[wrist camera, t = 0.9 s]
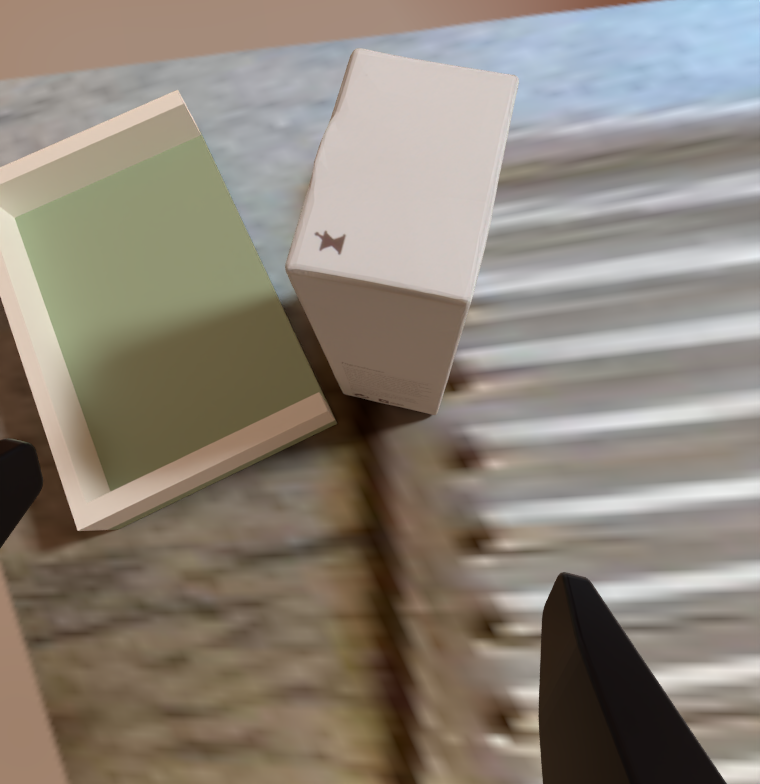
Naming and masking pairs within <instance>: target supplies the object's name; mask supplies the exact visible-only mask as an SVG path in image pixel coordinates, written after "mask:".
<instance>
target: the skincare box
mask: <svg viewBox="0 0 760 784" xmlns="http://www.w3.org/2000/svg"><path fill="white" fill-rule="evenodd" d="M518 84H519V79H518V77H517V76H515V75H509V74H502V73H496V72H490V71H484V70H478V69H472V68H466V67H459V66H453V65H447V64H441V63H435V62H430V61H424V60H418V59H412V58H406V57H401V56H396V55H390V54H385V53H380V52H376V51H371V50H366V49H362V48H357V49H355V50H354V51H353V53H352V54H351V56H350V59H349V62H348V65H347V69H346V72H345V75H344V78H343V81H342V85H341V88H340V91H339V94H338V97H337V100H336V104H335V107H334V110H333V113H332V116H331V119H330V122H329V124H328V127H327V129H326V131H325V133H324V135H323V138H322V140H321V143H320V146H319V149H318V152H317V155H316V158H315V161H314V167H313V173H312V177H311V181H310V184H309V188H308V191H307V194H306V198H305V201H304V204H303V208H302V211H301V214H300V218H299V221H298V225H297V228H296V231H295V235H294V238H293V241H292V244H291V248H290V251H289V254H288V258H287V261H286V265H285V269H286V272H287V275H288V277H289V279H290V281H291V284H292V286H293V288H294V290H295V292H296V294H297V296H298V299H299V301H300V303H301V305H302V307H303V309H304V311H305V313H306V315H307V318H308V320H309V322H310V323H311V326H312V328H313V330H314V332H315V335H316V337H317V339H318V341H319V343H320V345H321V348H322V350H323V352H324V354H325V356H326V358H327V360H328V362H329V364H330V367H331V369H332V371H333V373H334V376H335V378H336V380H337V382H338V384H339V386H340V388H341V390H342V392H343V394H346V395H350V396H354V397H359V398H363V399H367V400H371V401H375V402H379V403H384V404H388V405H393V406H398V407H402V408H407V409H411V410H415V411H419V412H424V413H428V414H431V415H436V414H437V413H438V410H439V407H440V404H441V400H442V397H443V393H444V390H445V387H446V384H447V381H448V377H449V374H450V370H451V367H452V364H453V360H454V357H455V354H456V350H457V347H458V344H459V340H460V337H461V334H462V331H463V327H464V324H465V321H466V317H467V313H468V310H469V307H470V304H471V300H472V296H473V293H474V289H475V285H476V282H477V278H478V274H479V270H480V266H481V262H482V258H483V254H484V250H485V246H486V241H487V237H488V232H489V227H490V222H491V217H492V212H493V206H494V201H495V196H496V190H497V185H498V180H499V175H500V170H501V167H502V161H503V156H504V152H505V146H506V141H507V137H508V132H509V127H510V122H511V117H512V112H513V107H514V102H515V98H516V93H517V89H518Z"/></svg>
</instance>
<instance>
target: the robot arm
mask: <svg viewBox="0 0 760 784" xmlns="http://www.w3.org/2000/svg"><path fill="white" fill-rule="evenodd" d="M42 485H43V477H42V473H41V469H40V465H39V461H38V457H37V453H36V450H35V448H34V446H33V445H32V444H30V443H28V442H24V441H20V440H15V439H3V440H0V548H1V547H2V545H3V544H4V542H5V541H6V540H7V538H8V537H9V535H10V534H11V532H12V531H13V530H14V528H15V527H16V525H17V524H18V523H19V521H20V520H21V518H22V517H23V516H24V514H25V513H26V511H27V510H28V509H29V507H30V506H31V504H32V503H33V501H34V500H35V499H36V497H37V496H38V494H39V493H40V491H41V488H42ZM539 735H540V749H541V763H542V776H543V784H727V783H726V782H725V780H724V779H723V777H722V776H721V774H720V773H719V772H718V770H717V769H716V767H715V766H714V764H713V763H712V761H711V760H710V758H709V757H708V755H707V754H706V752H705V751H704V749H703V748H702V746H701V745H700V743H699V742H698V740H697V739H696V737H695V736H694V734H693V733H692V731H691V730H690V728H689V727H688V725H687V724H686V723H685V721H684V720H683V718H682V717H681V715H680V714H679V712H678V711H677V709H676V708H675V706H674V705H673V703H672V702H671V700H670V699H669V697H668V696H667V694H666V693H665V691H664V690H663V688H662V687H661V685H660V684H659V682H658V681H657V679H656V678H655V676H654V675H653V673H652V672H651V671H650V669H649V668H648V666H647V665H646V663H645V662H644V660H643V659H642V657H641V656H640V654H639V653H638V651H637V650H636V648H635V647H634V645H633V644H632V642H631V641H630V639H629V638H628V636H627V635H626V633H625V632H624V630H623V629H622V627H621V626H620V624H619V623H618V622H617V620H616V619H615V617H614V616H613V614H612V613H611V611H610V610H609V608H608V607H607V605H606V604H605V602H604V601H603V599H602V598H601V596H600V595H599V593H598V592H597V590H596V589H595V587H594V586H593V584H592V583H591V582H590V581H589V580H588V579H587V578H585V577H582V576H578V575H574V574H570V573H566V572H563V573H560V574H559V576H558V577H557V579H556V581H555V583H554V586H553V588H552V590H551V592H550V594H549V597H548V599H547V601H546V603H545V606H544V610H543V616H542V634H541V660H540V687H539Z"/></svg>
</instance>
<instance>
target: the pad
mask: <svg viewBox="0 0 760 784" xmlns="http://www.w3.org/2000/svg"><path fill="white" fill-rule="evenodd" d="M0 297H1V300H2V303H3V306H4V309H5V312H6V315H7V318H8V321H9V324H10V327H11V330H12V333H13V336H14V339H15V342H16V345H17V348H18V351H19V355H20V358H21V361H22V364H23V367H24V370H25V373H26V376H27V379H28V382H29V385H30V388H31V391H32V394H33V397H34V400H35V403H36V406H37V409H38V412H39V415H40V418H41V421H42V424H43V427H44V430H45V433H46V436H47V439H48V442H49V445H50V448H51V452H52V455H53V458H54V461H55V464H56V467H57V470H58V473H59V476H60V479H61V482H62V485H63V488H64V491H65V494H66V497H67V500H68V503H69V506H70V509H71V512H72V515H73V518H74V521H75V524H76V527H77V530H78V531H91V530H118V529H120V528H122V527H124V526H126V525H128V524H131V523H133V522H135V521H137V520H139V519H141V518H143V517H145V516H147V515H149V514H151V513H153V512H155V511H157V510H160V509H162V508H164V507H166V506H168V505H170V504H172V503H174V502H176V501H178V500H180V499H182V498H184V497H186V496H189V495H191V494H193V493H195V492H197V491H199V490H201V489H203V488H205V487H207V486H209V485H211V484H213V483H215V482H218V481H220V480H222V479H224V478H226V477H228V476H230V475H232V474H234V473H236V472H238V471H240V470H242V469H244V468H247V467H249V466H251V465H253V464H255V463H257V462H259V461H261V460H263V459H265V458H267V457H269V456H271V455H273V454H276V453H278V452H280V451H282V450H284V449H286V448H288V447H290V446H292V445H294V444H296V443H298V442H300V441H303V440H305V439H307V438H309V437H311V436H313V435H315V434H317V433H319V432H321V431H323V430H325V429H327V428H329V427H332V426H334V425H336V424H337V422H336V419H335V417H334V415H333V413H332V411H331V409H330V407H329V405H328V402H327V400H326V398H325V396H324V394H323V392H322V390H321V387H320V385H319V383H318V381H317V379H316V377H315V375H314V373H313V370H312V368H311V366H310V364H309V362H308V360H307V358H306V356H305V353H304V351H303V349H302V347H301V345H300V343H299V341H298V338H297V336H296V334H295V332H294V330H293V328H292V326H291V324H290V321H289V319H288V317H287V315H286V313H285V311H284V309H283V307H282V304H281V302H280V300H279V298H278V296H277V294H276V292H275V289H274V287H273V285H272V283H271V281H270V279H269V277H268V275H267V272H266V270H265V268H264V266H263V264H262V262H261V260H260V258H259V255H258V253H257V251H256V249H255V247H254V245H253V243H252V240H251V238H250V236H249V234H248V232H247V230H246V228H245V226H244V223H243V221H242V219H241V217H240V215H239V213H238V211H237V209H236V206H235V204H234V202H233V200H232V198H231V196H230V194H229V191H228V189H227V187H226V185H225V183H224V181H223V179H222V177H221V174H220V172H219V170H218V168H217V166H216V164H215V162H214V160H213V157H212V155H211V153H210V151H209V149H208V147H207V145H206V142H205V140H204V138H203V136H202V134H201V132H200V130H199V128H198V127H197V125H196V123H195V121H194V119H193V117H192V115H191V114H190V112H189V110H188V108H187V106H186V104H185V102H184V100H183V99H182V97H181V95H180V93H179V91H178V90H176V91H174V92H172V93H169V94H167V95H165V96H162V97H160V98H158V99H156V100H153V101H151V102H149V103H146V104H144V105H142V106H140V107H137V108H135V109H133V110H130V111H128V112H126V113H124V114H121V115H119V116H117V117H114V118H112V119H110V120H108V121H105V122H103V123H101V124H99V125H96V126H94V127H92V128H89V129H87V130H85V131H83V132H80V133H78V134H76V135H73V136H71V137H69V138H67V139H64V140H62V141H60V142H57V143H55V144H53V145H51V146H48V147H46V148H44V149H41V150H39V151H37V152H35V153H32V154H30V155H28V156H25V157H23V158H21V159H19V160H16V161H14V162H12V163H9V164H7V165H5V166H3V167H0Z"/></svg>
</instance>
